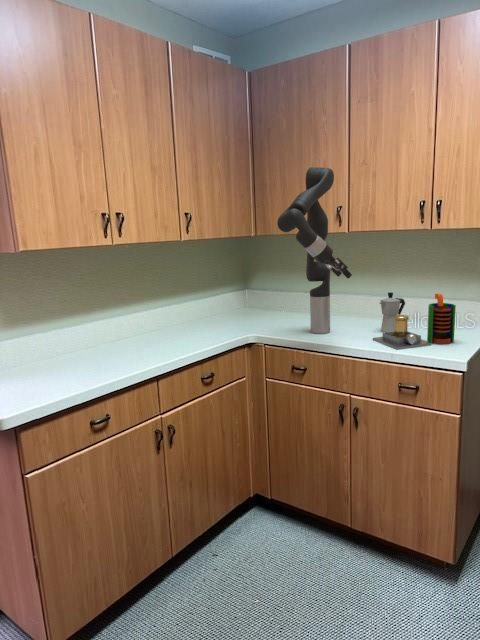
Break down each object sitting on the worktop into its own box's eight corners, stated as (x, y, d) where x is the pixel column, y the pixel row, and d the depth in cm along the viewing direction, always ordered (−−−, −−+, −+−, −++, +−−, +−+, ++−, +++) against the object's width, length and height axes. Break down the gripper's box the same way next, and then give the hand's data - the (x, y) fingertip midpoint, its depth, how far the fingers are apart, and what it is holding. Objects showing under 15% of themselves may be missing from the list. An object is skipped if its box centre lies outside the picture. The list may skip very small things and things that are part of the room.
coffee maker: (385, 334, 218) (386, 294, 215) (372, 331, 226) (372, 292, 223) (411, 330, 224) (411, 291, 221) (397, 326, 232) (398, 289, 229)
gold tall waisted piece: (389, 339, 205) (390, 315, 203) (403, 337, 207) (403, 314, 205) (398, 342, 199) (398, 318, 197) (412, 341, 201) (412, 316, 199)
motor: (435, 345, 195) (437, 296, 192) (422, 341, 204) (423, 294, 200) (457, 343, 198) (459, 294, 194) (442, 338, 207) (444, 291, 203)
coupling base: (372, 340, 210) (372, 328, 209) (405, 336, 214) (405, 325, 213) (396, 349, 193) (397, 337, 192) (431, 345, 197) (431, 333, 196)
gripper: (332, 242, 185) (359, 270, 190) (316, 241, 198) (342, 267, 204) (320, 257, 185) (347, 284, 190) (305, 255, 198) (331, 280, 203)
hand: (344, 275), depth 197 cm, fingers open, 8 cm apart
